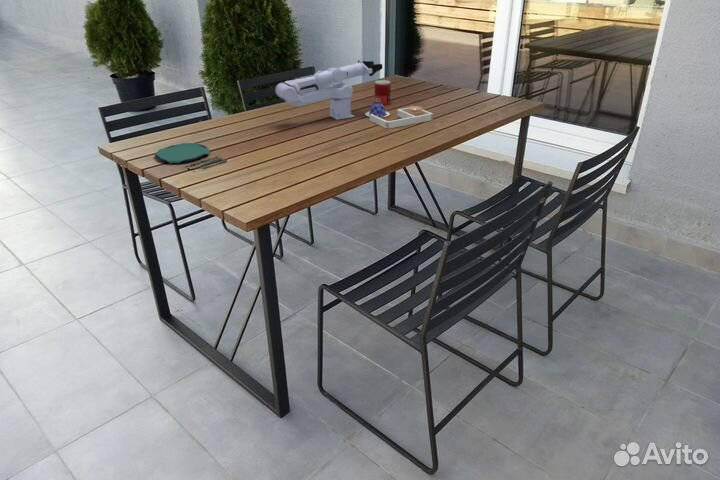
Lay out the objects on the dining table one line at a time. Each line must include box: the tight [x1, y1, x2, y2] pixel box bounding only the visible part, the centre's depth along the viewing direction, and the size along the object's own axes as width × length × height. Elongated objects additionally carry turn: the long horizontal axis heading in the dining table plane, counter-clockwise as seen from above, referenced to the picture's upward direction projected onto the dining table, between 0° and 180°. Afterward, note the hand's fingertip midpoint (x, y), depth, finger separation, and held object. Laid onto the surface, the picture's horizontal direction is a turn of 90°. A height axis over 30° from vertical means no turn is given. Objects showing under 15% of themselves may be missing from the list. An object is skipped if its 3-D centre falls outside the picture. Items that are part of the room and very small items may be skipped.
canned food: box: [374, 79, 391, 106], centre depth 277 cm, size 8×8×11 cm
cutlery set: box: [154, 142, 228, 170], centre depth 212 cm, size 20×30×2 cm, turn 44°
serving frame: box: [369, 107, 434, 130], centre depth 252 cm, size 25×15×3 cm, turn 119°
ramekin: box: [407, 105, 423, 116], centre depth 254 cm, size 7×7×5 cm
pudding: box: [364, 103, 390, 119], centre depth 260 cm, size 12×12×5 cm
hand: (377, 65), depth 258 cm, fingers open, 7 cm apart
